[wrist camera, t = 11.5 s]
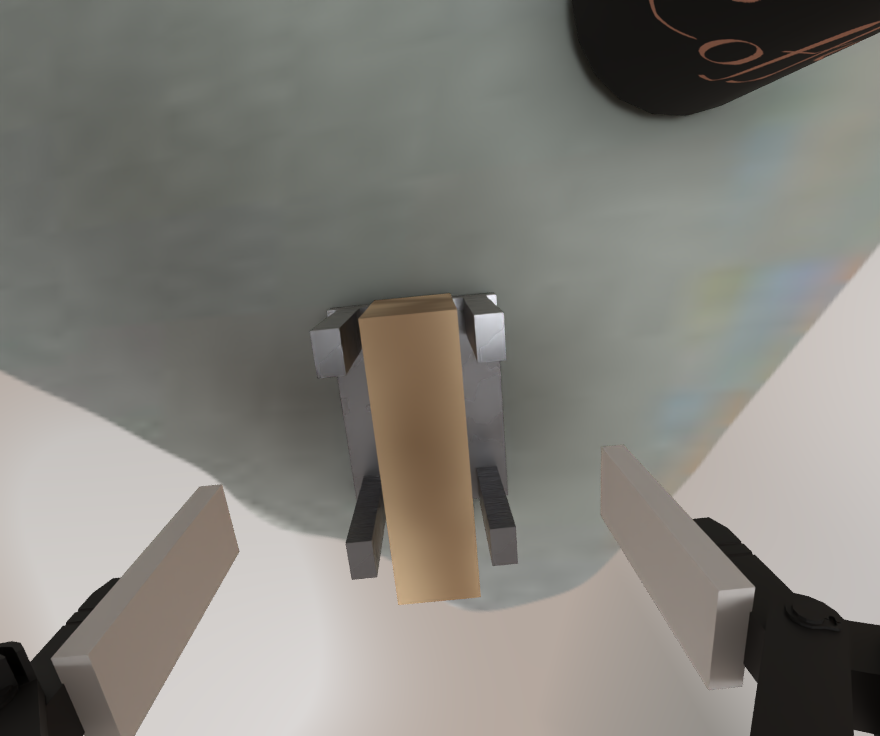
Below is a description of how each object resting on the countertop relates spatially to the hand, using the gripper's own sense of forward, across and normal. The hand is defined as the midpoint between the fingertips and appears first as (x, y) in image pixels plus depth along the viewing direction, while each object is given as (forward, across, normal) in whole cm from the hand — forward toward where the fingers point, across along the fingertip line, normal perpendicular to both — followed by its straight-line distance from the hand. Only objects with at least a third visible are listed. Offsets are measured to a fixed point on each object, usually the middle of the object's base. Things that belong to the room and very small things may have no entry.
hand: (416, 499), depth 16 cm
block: (+10, 0, -2) cm, 10 cm away
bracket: (+11, 0, -1) cm, 11 cm away
